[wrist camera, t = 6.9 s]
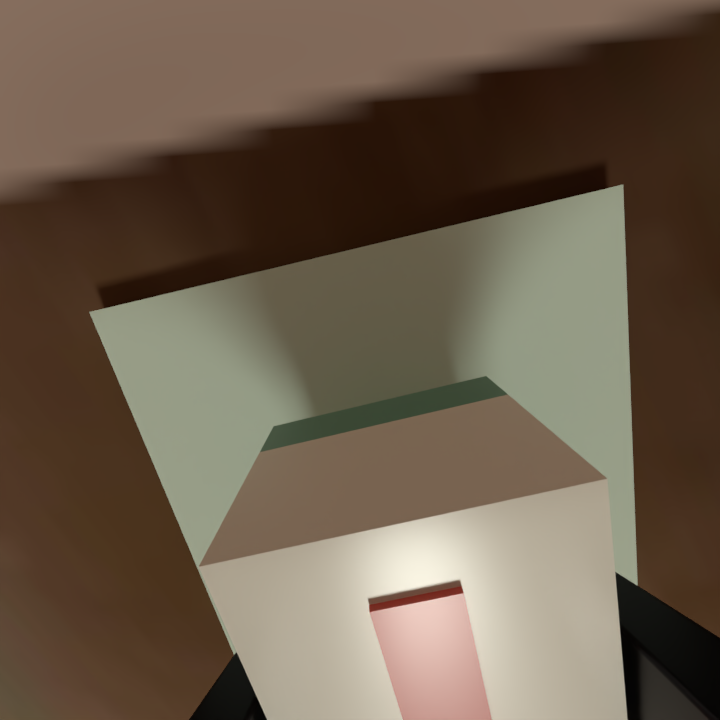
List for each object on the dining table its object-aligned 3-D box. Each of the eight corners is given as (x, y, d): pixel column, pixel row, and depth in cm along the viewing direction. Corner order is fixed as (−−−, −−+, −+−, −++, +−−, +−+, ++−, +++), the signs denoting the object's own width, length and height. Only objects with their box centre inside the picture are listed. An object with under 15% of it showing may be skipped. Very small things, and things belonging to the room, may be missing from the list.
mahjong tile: (525, 612, 10) (642, 853, 6) (348, 648, 10) (342, 898, 6) (485, 376, 8) (613, 484, 4) (273, 426, 8) (194, 573, 4)
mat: (607, 189, 10) (623, 184, 9) (625, 583, 13) (637, 597, 13) (103, 309, 11) (89, 312, 10) (245, 653, 14) (240, 669, 14)
